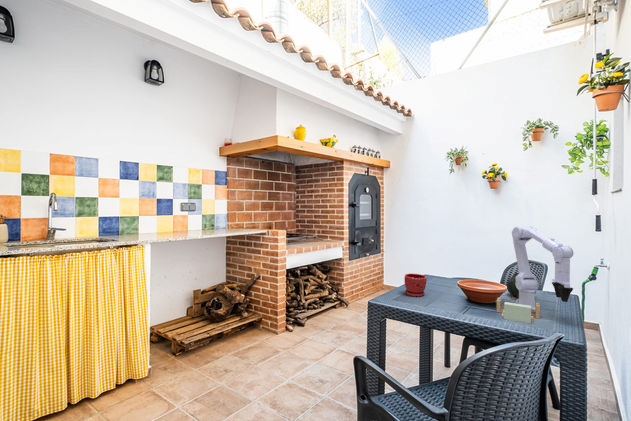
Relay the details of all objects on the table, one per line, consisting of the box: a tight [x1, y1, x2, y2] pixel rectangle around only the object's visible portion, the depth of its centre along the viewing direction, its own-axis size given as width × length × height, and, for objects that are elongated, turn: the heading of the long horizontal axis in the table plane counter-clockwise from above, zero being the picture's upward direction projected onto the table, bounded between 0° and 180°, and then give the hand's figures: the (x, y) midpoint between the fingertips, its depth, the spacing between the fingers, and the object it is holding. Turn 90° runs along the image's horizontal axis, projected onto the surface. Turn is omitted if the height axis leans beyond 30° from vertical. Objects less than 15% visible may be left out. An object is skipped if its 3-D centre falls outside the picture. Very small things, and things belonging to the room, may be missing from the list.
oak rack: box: [496, 297, 541, 320], centre depth 168 cm, size 7×18×6 cm, turn 58°
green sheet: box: [503, 301, 532, 324], centre depth 158 cm, size 4×11×8 cm, turn 57°
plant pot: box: [404, 273, 427, 297], centre depth 202 cm, size 13×13×12 cm
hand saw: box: [510, 296, 518, 301], centre depth 203 cm, size 24×5×1 cm, turn 18°
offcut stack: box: [501, 310, 535, 322], centre depth 162 cm, size 4×13×3 cm, turn 51°
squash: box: [506, 272, 537, 298], centre depth 200 cm, size 14×15×15 cm
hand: (561, 299), depth 158 cm, fingers open, 7 cm apart
